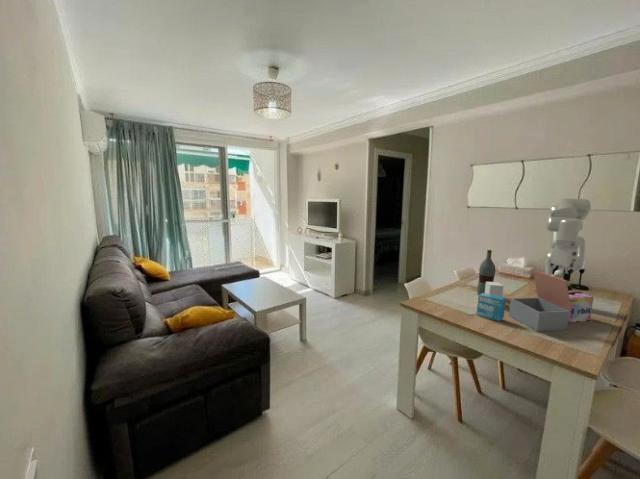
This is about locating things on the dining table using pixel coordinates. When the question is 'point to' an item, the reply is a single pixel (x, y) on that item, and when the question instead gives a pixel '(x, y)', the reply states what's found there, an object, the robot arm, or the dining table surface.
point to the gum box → (580, 307)
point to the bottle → (486, 273)
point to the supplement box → (494, 289)
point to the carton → (539, 314)
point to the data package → (491, 307)
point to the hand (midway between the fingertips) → (560, 278)
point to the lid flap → (552, 288)
